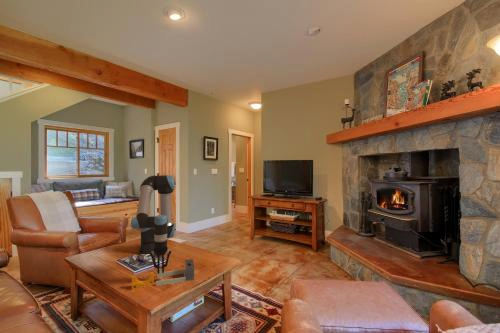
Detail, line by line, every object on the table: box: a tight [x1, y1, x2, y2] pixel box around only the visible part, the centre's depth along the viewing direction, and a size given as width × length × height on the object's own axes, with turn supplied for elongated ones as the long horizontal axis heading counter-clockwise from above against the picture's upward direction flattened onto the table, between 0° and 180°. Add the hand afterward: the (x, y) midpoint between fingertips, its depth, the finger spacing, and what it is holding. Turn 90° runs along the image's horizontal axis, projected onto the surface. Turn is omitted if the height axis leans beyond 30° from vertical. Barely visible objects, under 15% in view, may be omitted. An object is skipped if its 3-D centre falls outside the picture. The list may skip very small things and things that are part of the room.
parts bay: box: [155, 268, 187, 287], centre depth 149 cm, size 13×17×2 cm
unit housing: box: [184, 258, 195, 282], centre depth 153 cm, size 11×5×10 cm, turn 18°
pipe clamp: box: [131, 271, 155, 291], centre depth 141 cm, size 12×4×6 cm, turn 117°
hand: (160, 278), depth 148 cm, fingers closed
